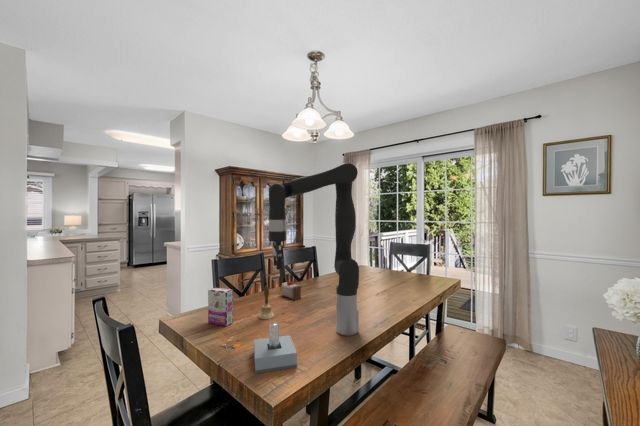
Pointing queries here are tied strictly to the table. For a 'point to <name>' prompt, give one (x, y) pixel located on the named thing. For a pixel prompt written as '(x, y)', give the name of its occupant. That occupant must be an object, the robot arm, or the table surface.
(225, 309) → the candy bar box
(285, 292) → the food item
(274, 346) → the pin
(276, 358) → the bore block
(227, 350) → the key chain
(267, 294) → the hand bell
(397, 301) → the table surface
